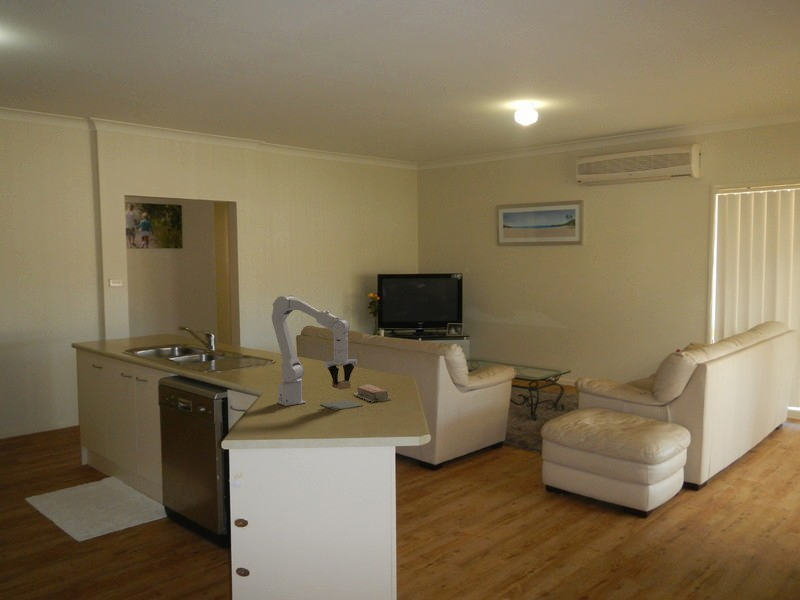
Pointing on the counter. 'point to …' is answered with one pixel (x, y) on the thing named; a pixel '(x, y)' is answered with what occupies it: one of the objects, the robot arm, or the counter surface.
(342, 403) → the slate mat
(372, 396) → the packaged product
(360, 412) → the counter surface
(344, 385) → the walnut block
